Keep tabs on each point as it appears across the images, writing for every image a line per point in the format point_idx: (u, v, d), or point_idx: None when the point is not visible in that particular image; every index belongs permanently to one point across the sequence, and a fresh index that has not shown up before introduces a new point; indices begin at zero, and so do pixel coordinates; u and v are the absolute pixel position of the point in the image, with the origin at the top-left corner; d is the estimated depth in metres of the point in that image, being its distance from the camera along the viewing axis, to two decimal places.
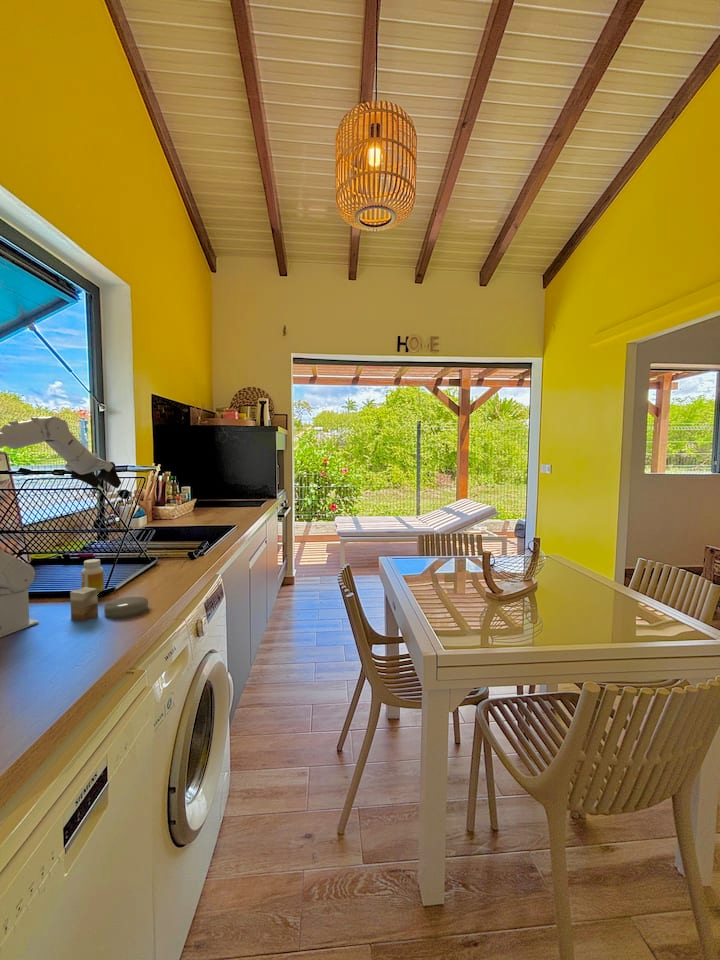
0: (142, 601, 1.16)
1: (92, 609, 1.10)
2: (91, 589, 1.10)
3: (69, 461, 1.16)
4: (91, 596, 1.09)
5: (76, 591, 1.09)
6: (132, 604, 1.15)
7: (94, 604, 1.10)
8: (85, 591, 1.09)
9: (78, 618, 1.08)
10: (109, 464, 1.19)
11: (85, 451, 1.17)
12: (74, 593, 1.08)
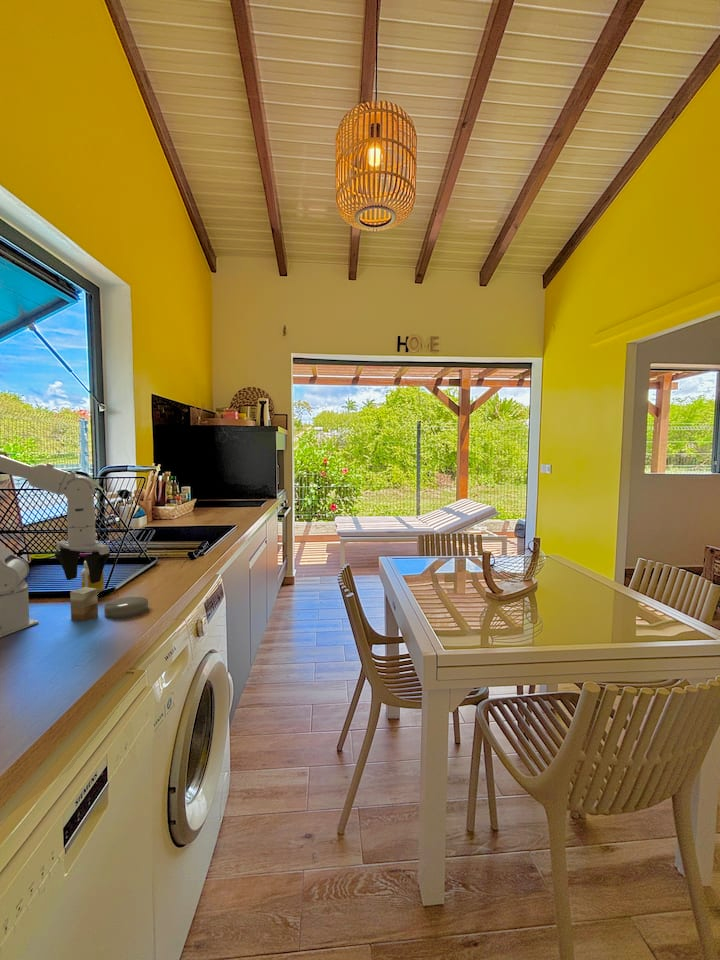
0: (142, 601, 1.16)
1: (92, 609, 1.10)
2: (91, 589, 1.10)
3: (71, 528, 1.06)
4: (91, 596, 1.09)
5: (76, 591, 1.09)
6: (132, 604, 1.15)
7: (94, 604, 1.10)
8: (85, 591, 1.09)
9: (78, 618, 1.08)
10: (107, 548, 1.07)
11: (93, 527, 1.08)
12: (74, 593, 1.08)
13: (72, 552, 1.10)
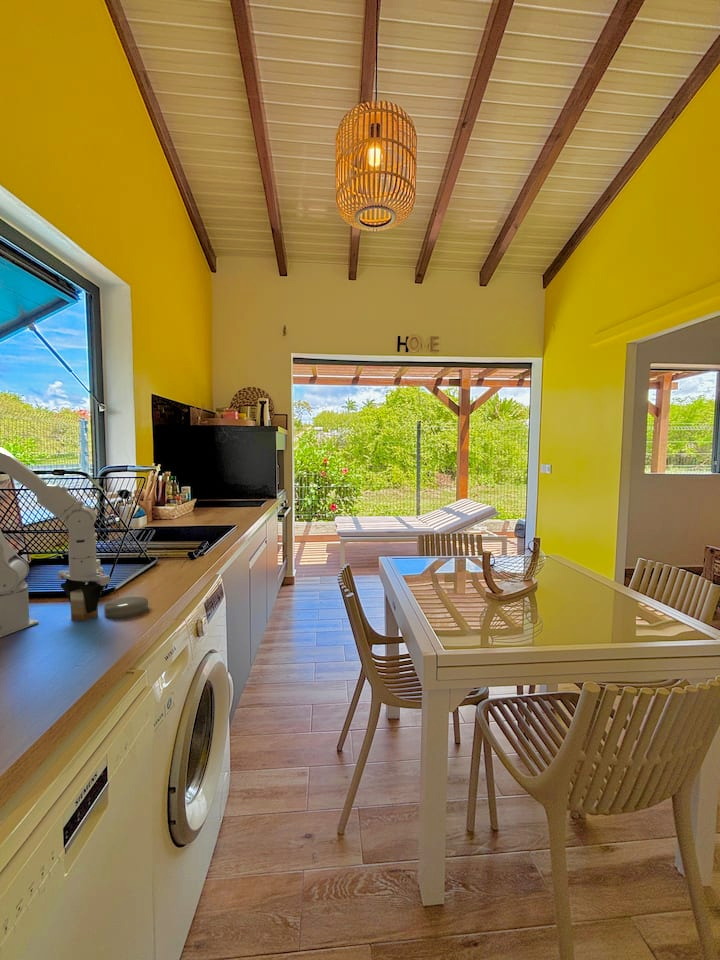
0: (142, 601, 1.16)
1: None
2: None
3: (73, 559, 1.06)
4: None
5: (76, 591, 1.09)
6: (132, 604, 1.15)
7: None
8: None
9: (78, 618, 1.08)
10: (108, 579, 1.08)
11: (94, 557, 1.09)
12: (74, 593, 1.08)
13: (78, 582, 1.10)
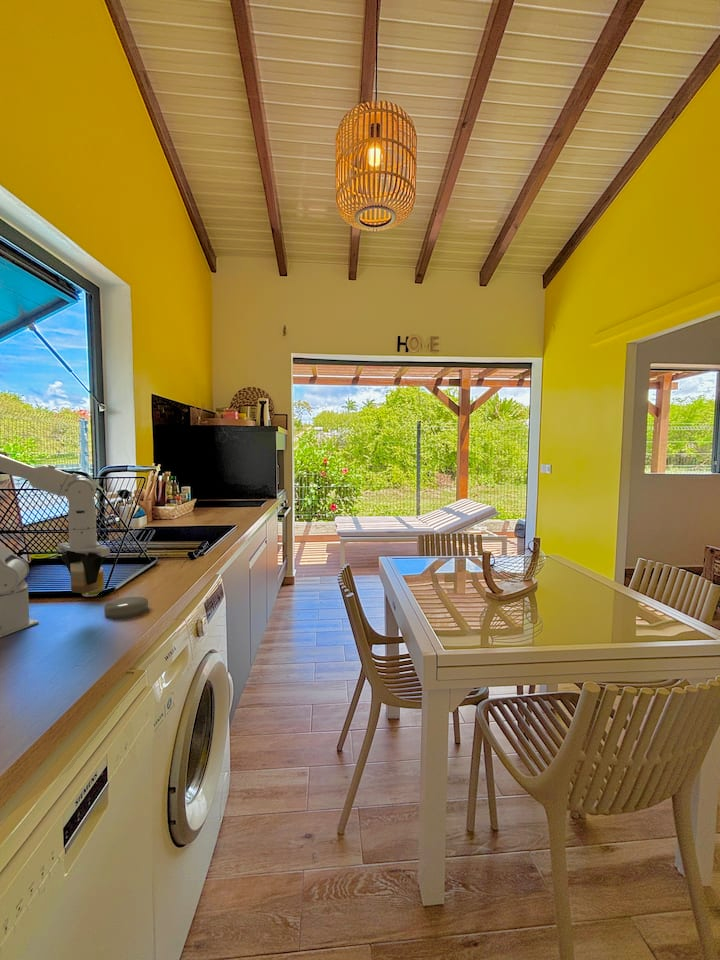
0: (142, 601, 1.16)
1: None
2: None
3: (73, 530, 1.06)
4: None
5: (76, 563, 1.08)
6: (132, 604, 1.15)
7: None
8: None
9: (78, 590, 1.08)
10: (108, 550, 1.07)
11: (94, 529, 1.09)
12: (74, 564, 1.07)
13: (78, 554, 1.10)
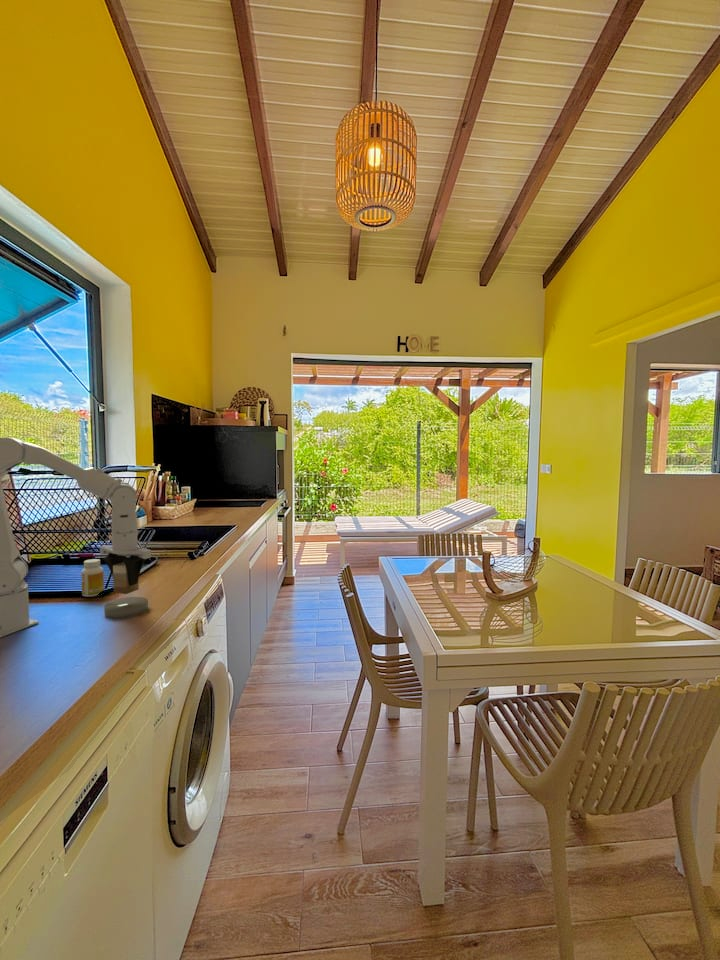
0: (142, 601, 1.16)
1: None
2: None
3: (116, 533, 1.11)
4: None
5: (118, 564, 1.13)
6: (132, 604, 1.15)
7: None
8: None
9: (121, 590, 1.13)
10: (149, 552, 1.12)
11: (136, 532, 1.13)
12: (117, 566, 1.12)
13: (119, 557, 1.15)
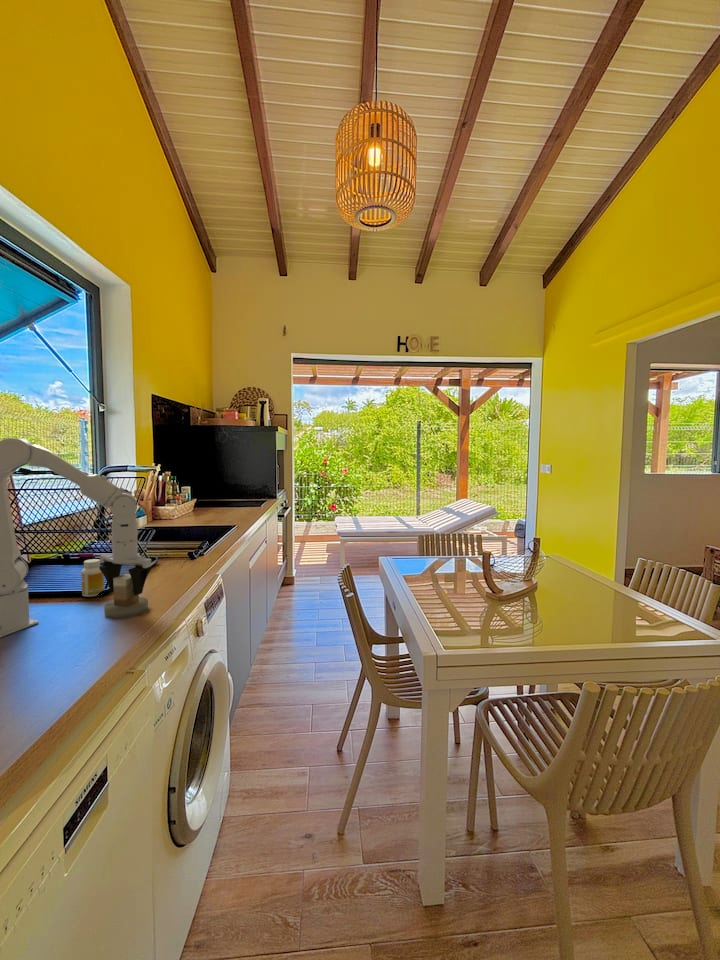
0: (142, 601, 1.16)
1: (134, 595, 1.15)
2: None
3: (116, 543, 1.11)
4: None
5: (119, 577, 1.13)
6: (132, 604, 1.15)
7: None
8: (127, 577, 1.14)
9: (121, 603, 1.13)
10: (149, 562, 1.12)
11: (136, 541, 1.14)
12: (117, 579, 1.13)
13: (115, 565, 1.16)
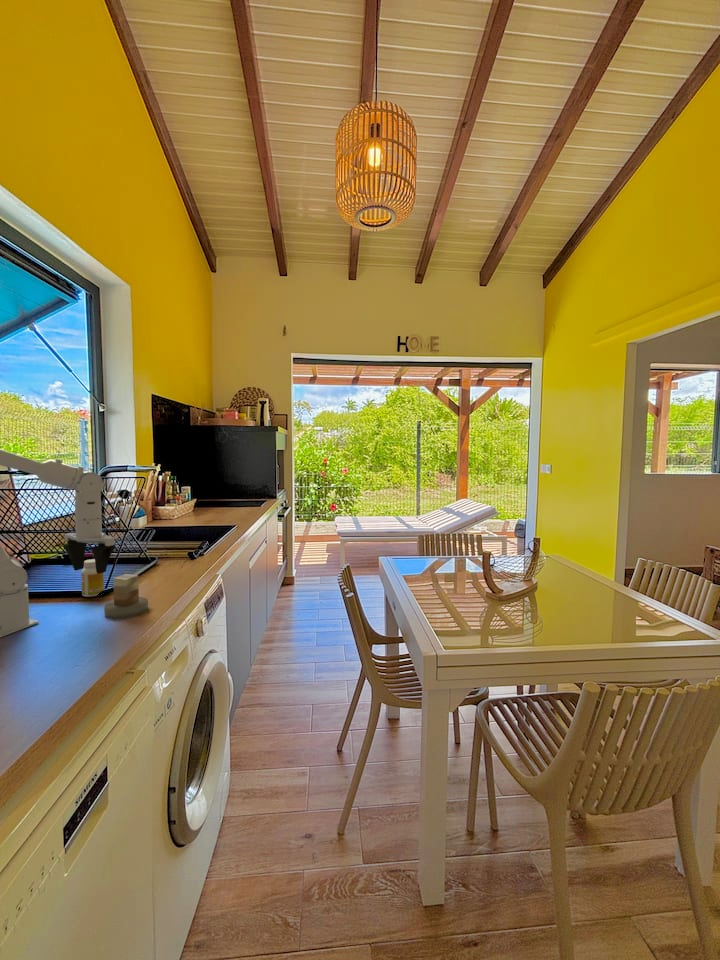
0: (142, 601, 1.16)
1: (134, 595, 1.15)
2: (132, 576, 1.15)
3: (79, 520, 1.11)
4: (133, 582, 1.14)
5: (119, 577, 1.13)
6: (132, 604, 1.15)
7: (135, 590, 1.15)
8: (127, 577, 1.14)
9: (121, 603, 1.13)
10: (112, 540, 1.12)
11: (99, 520, 1.14)
12: (117, 579, 1.13)
13: (79, 544, 1.15)
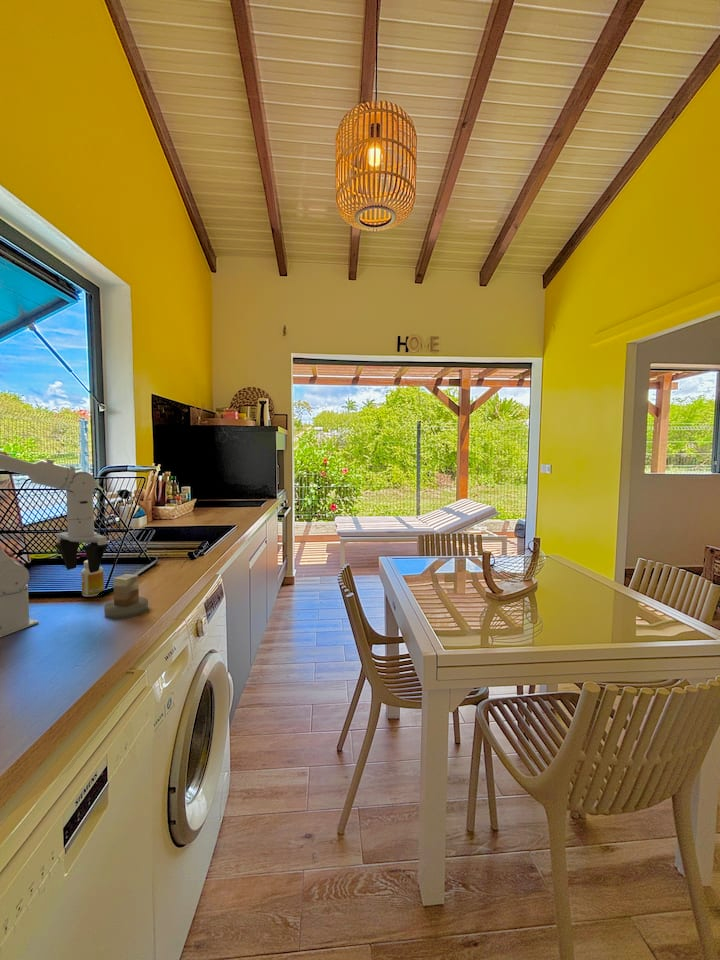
0: (142, 601, 1.16)
1: (134, 595, 1.15)
2: (132, 576, 1.15)
3: (71, 520, 1.11)
4: (133, 582, 1.14)
5: (119, 577, 1.13)
6: (132, 604, 1.15)
7: (135, 590, 1.15)
8: (127, 577, 1.14)
9: (121, 603, 1.13)
10: (105, 539, 1.12)
11: (92, 519, 1.14)
12: (117, 579, 1.13)
13: (72, 543, 1.16)
